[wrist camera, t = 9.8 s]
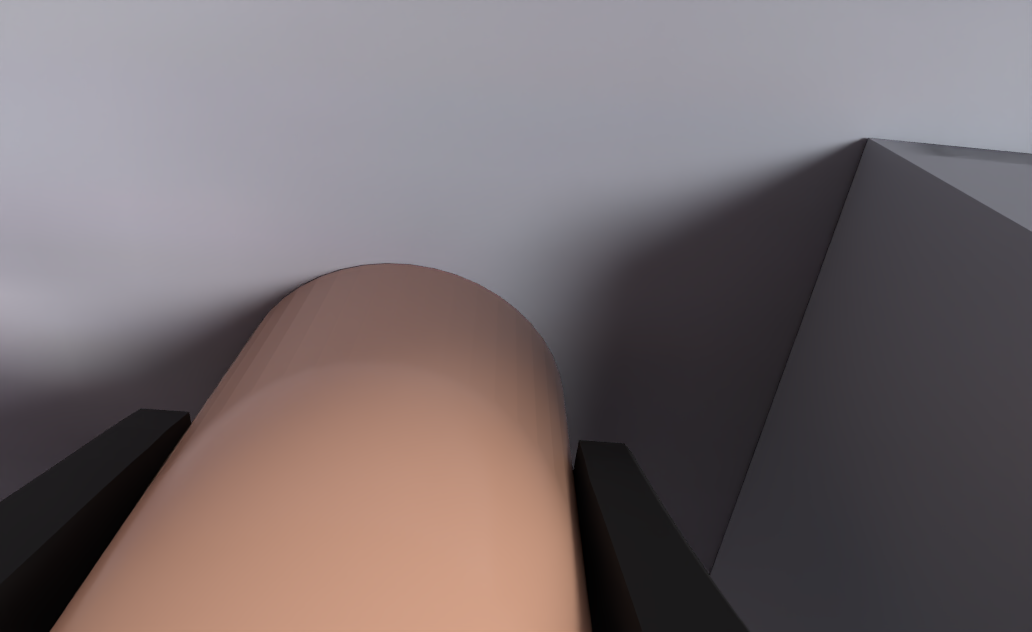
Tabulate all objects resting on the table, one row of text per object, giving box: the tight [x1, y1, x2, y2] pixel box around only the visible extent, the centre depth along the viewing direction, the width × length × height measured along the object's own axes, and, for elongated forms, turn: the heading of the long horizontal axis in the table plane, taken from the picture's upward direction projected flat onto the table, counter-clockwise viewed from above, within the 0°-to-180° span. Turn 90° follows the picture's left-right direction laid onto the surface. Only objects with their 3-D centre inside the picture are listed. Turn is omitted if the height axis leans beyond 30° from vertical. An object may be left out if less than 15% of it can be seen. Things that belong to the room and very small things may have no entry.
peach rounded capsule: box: [50, 264, 593, 632], centre depth 7 cm, size 5×5×7 cm
